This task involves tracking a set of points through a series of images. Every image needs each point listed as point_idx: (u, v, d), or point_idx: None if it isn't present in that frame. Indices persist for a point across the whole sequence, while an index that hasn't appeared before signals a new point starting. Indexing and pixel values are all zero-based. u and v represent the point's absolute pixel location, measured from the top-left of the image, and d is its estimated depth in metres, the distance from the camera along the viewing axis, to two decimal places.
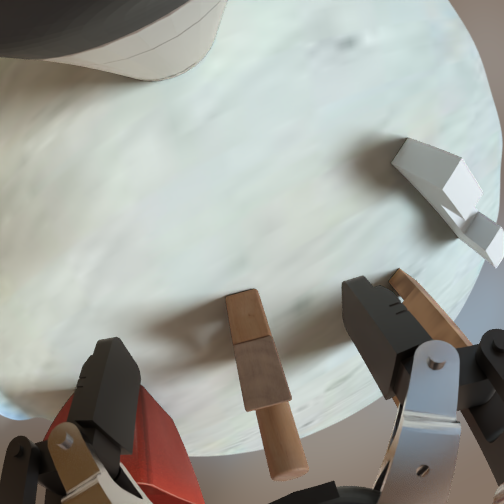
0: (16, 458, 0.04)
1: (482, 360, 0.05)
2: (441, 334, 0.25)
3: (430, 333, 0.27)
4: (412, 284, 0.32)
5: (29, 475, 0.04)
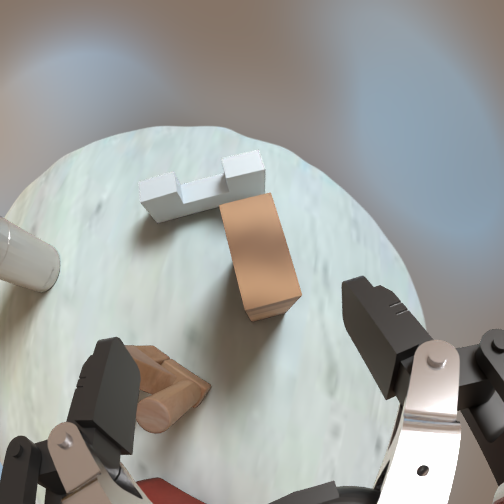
0: (16, 458, 0.04)
1: (482, 360, 0.05)
2: None
3: None
4: None
5: (29, 475, 0.04)
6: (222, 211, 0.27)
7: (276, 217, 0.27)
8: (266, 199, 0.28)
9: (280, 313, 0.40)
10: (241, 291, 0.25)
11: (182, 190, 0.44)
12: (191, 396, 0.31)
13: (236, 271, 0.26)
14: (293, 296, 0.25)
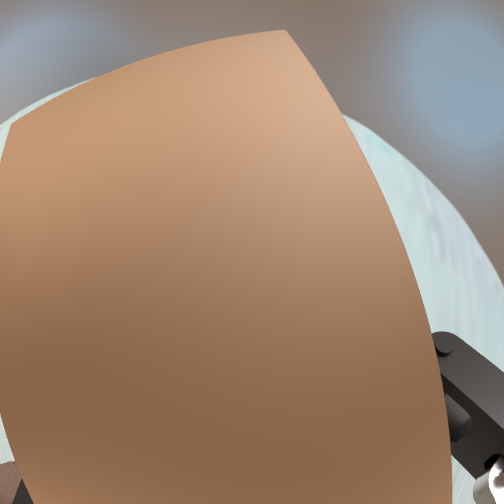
0: None
1: None
2: None
3: None
4: None
5: None
6: (9, 149, 0.03)
7: (344, 150, 0.03)
8: (260, 52, 0.04)
9: None
10: None
11: None
12: None
13: None
14: None
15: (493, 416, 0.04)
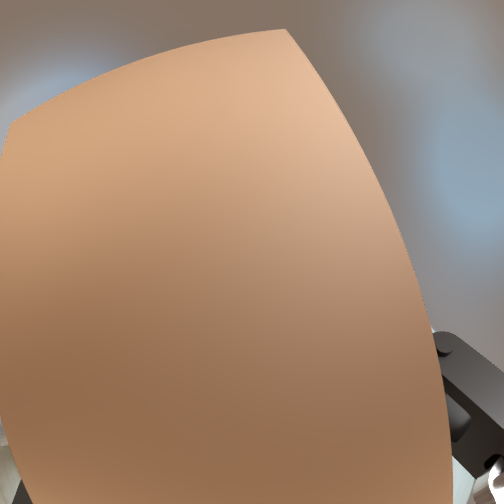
0: None
1: None
2: None
3: None
4: None
5: None
6: (8, 149, 0.03)
7: (345, 150, 0.03)
8: (260, 51, 0.03)
9: None
10: None
11: None
12: None
13: None
14: None
15: (493, 416, 0.04)
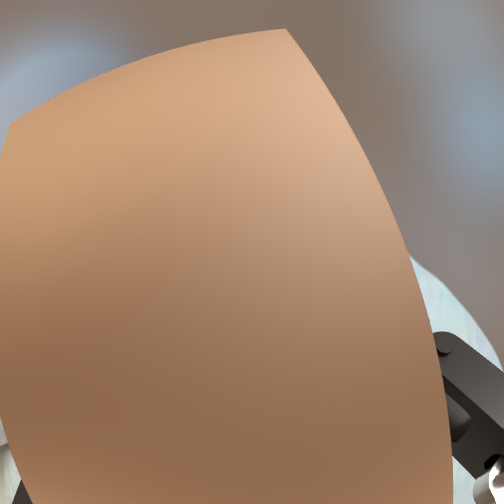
0: None
1: None
2: None
3: None
4: None
5: None
6: (8, 149, 0.03)
7: (345, 150, 0.03)
8: (260, 51, 0.03)
9: None
10: None
11: None
12: None
13: None
14: None
15: (493, 416, 0.04)
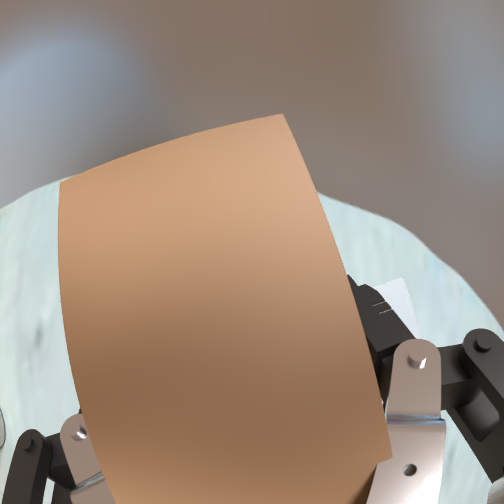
0: (26, 452, 0.05)
1: (466, 361, 0.05)
2: None
3: None
4: None
5: (38, 470, 0.04)
6: (64, 208, 0.05)
7: (319, 231, 0.05)
8: (263, 141, 0.05)
9: None
10: None
11: None
12: None
13: (118, 499, 0.03)
14: None
15: None
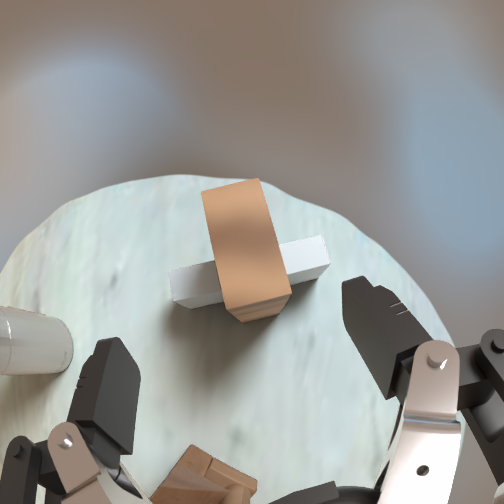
0: (16, 458, 0.04)
1: (482, 360, 0.05)
2: None
3: None
4: None
5: (29, 475, 0.04)
6: (204, 198, 0.24)
7: (264, 205, 0.24)
8: (253, 185, 0.24)
9: (273, 314, 0.37)
10: (222, 288, 0.22)
11: None
12: None
13: (217, 265, 0.23)
14: (282, 294, 0.22)
15: None
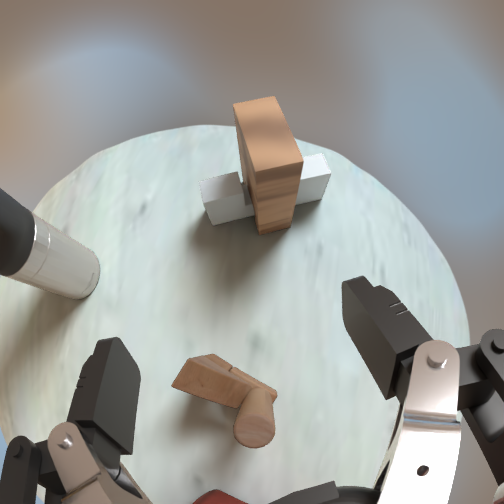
0: (16, 458, 0.04)
1: (482, 360, 0.05)
2: (240, 147, 0.37)
3: (242, 157, 0.38)
4: None
5: (29, 475, 0.04)
6: (235, 107, 0.31)
7: (279, 110, 0.31)
8: (271, 100, 0.31)
9: (285, 223, 0.44)
10: (252, 158, 0.29)
11: (242, 191, 0.43)
12: None
13: (247, 145, 0.29)
14: (296, 161, 0.29)
15: None
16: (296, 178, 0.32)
